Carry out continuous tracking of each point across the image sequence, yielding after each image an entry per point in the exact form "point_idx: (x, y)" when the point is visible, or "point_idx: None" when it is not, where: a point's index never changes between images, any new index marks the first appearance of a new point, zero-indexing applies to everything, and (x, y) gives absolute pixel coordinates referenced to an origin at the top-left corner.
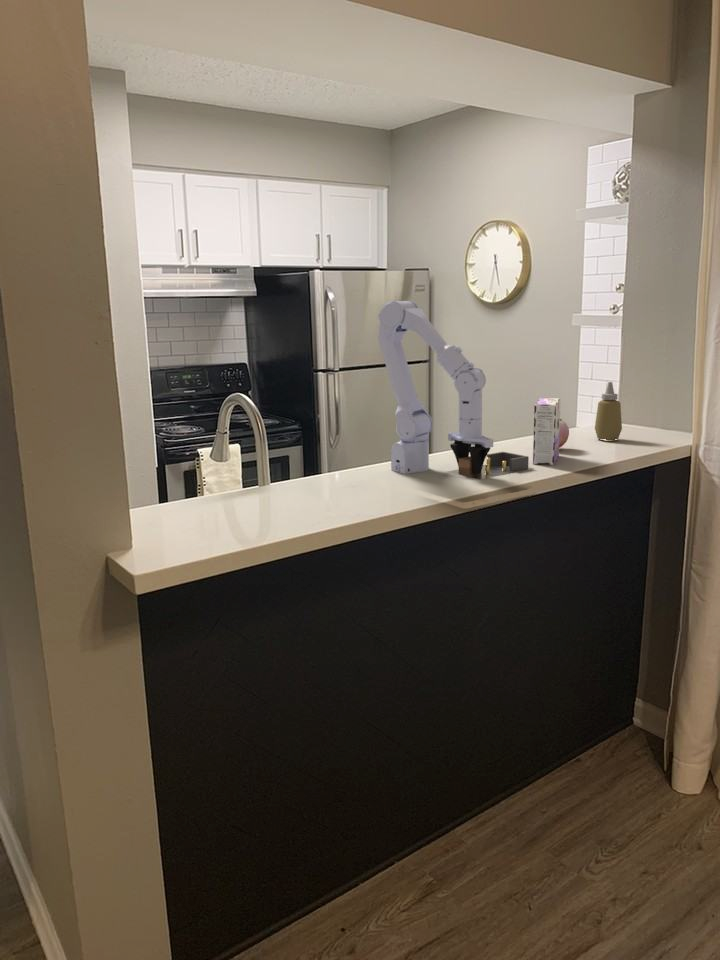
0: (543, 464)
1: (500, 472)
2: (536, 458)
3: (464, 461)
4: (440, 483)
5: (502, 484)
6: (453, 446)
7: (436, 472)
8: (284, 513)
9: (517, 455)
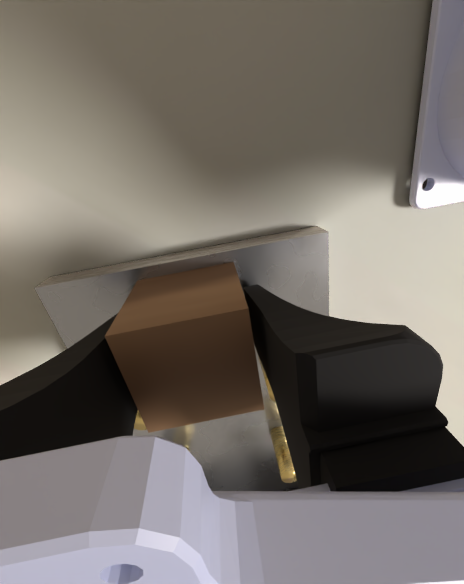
0: None
1: (159, 431)
2: None
3: (170, 313)
4: (164, 69)
5: (16, 366)
6: (339, 343)
7: (428, 226)
8: None
9: None
